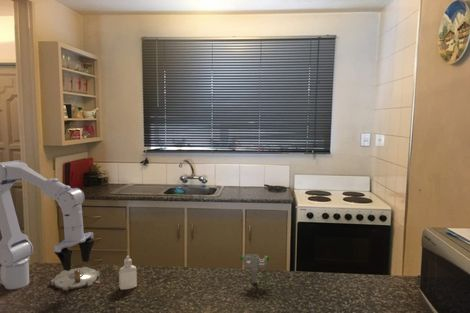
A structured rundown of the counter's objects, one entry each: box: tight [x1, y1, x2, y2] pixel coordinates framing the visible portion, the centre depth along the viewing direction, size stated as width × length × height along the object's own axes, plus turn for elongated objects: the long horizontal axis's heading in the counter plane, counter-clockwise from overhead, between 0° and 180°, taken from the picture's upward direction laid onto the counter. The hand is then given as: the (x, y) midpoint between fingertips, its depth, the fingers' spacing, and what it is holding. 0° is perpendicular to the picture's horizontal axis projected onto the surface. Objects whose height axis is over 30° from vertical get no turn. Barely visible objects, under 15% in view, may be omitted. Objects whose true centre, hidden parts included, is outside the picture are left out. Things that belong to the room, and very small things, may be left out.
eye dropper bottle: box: [118, 255, 138, 290], centre depth 119 cm, size 4×6×12 cm
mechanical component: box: [240, 253, 270, 284], centre depth 126 cm, size 3×10×10 cm, turn 89°
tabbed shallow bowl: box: [51, 266, 101, 291], centre depth 123 cm, size 14×16×6 cm
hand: (76, 265), depth 115 cm, fingers open, 7 cm apart
